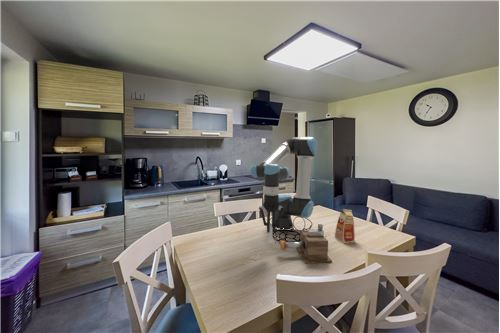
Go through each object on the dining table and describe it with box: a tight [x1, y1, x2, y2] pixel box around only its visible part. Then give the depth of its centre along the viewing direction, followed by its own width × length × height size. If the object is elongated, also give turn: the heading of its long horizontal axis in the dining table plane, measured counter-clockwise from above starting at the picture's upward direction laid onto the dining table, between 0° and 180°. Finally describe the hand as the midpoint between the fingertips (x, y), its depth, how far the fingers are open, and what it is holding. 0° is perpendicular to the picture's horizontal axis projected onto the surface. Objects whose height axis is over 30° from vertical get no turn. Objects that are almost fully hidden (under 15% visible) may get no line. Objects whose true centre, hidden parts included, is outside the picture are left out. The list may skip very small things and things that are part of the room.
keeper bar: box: [306, 223, 325, 237], centre depth 116 cm, size 3×8×6 cm, turn 94°
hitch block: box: [295, 229, 333, 265], centre depth 116 cm, size 16×14×11 cm
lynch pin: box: [279, 239, 305, 252], centre depth 116 cm, size 5×16×5 cm, turn 94°
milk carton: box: [334, 208, 356, 244], centre depth 136 cm, size 9×9×20 cm
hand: (270, 238), depth 114 cm, fingers closed
